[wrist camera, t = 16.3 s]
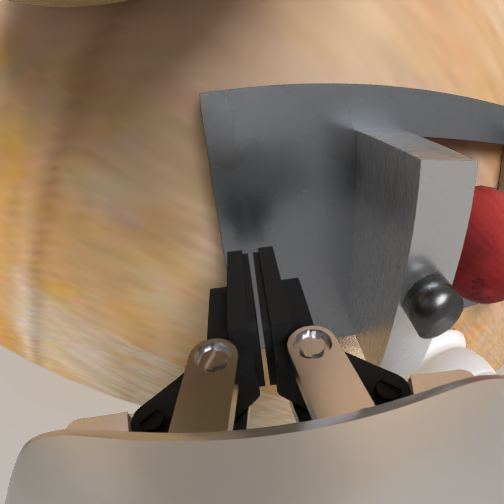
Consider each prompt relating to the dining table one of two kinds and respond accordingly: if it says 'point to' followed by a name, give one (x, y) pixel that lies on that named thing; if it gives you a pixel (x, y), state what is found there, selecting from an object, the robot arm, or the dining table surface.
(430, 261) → the door
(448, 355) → the jar
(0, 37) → the dining table surface
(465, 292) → the onion
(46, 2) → the ceramic vessel
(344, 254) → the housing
